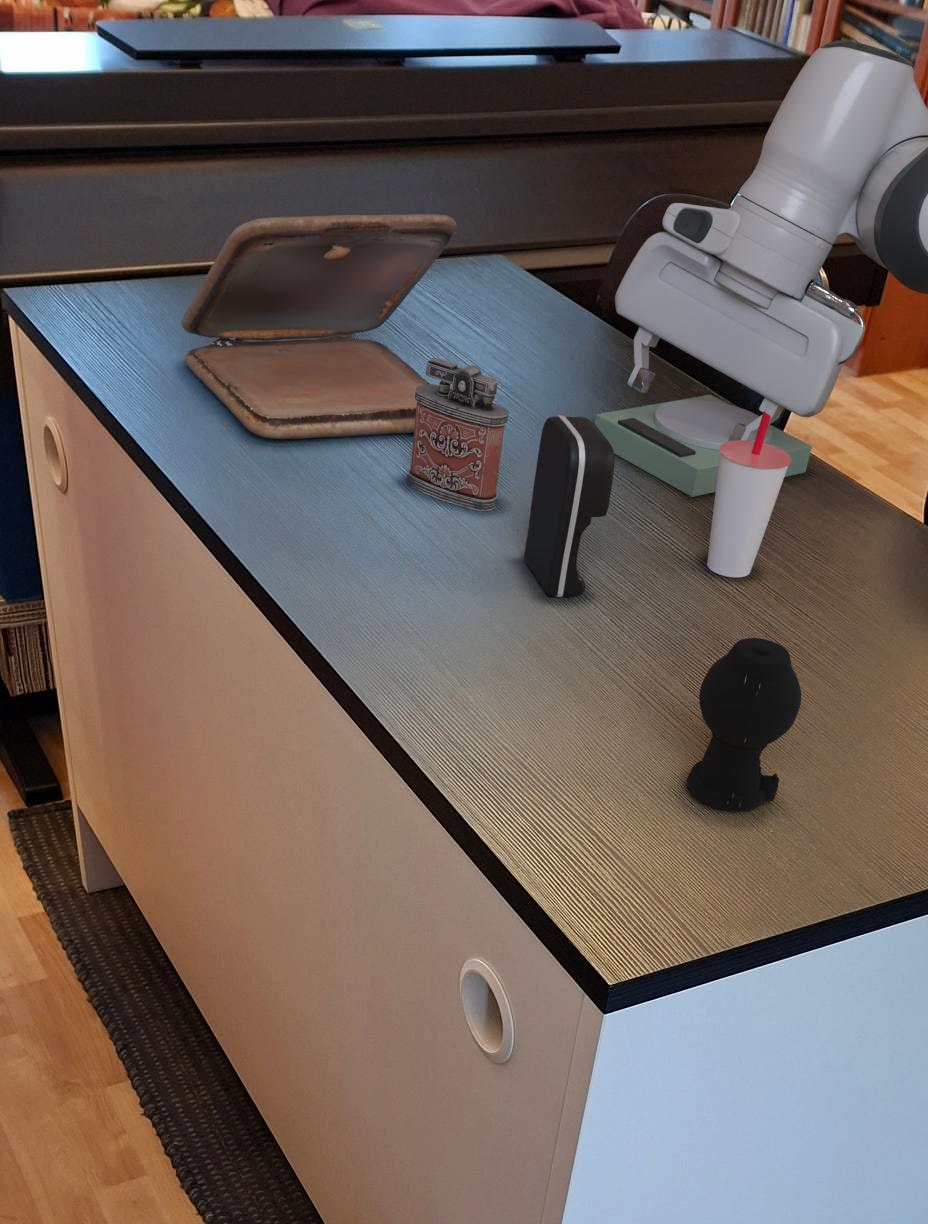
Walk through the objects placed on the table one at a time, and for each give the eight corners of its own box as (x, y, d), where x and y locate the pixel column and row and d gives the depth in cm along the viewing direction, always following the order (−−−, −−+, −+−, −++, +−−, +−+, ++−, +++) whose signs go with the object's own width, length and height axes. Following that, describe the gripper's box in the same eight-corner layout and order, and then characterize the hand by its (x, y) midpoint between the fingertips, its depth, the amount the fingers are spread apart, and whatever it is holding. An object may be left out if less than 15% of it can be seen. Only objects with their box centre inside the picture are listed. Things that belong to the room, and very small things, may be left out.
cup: (752, 554, 126) (790, 401, 118) (770, 585, 122) (811, 428, 114) (687, 551, 125) (720, 396, 117) (703, 581, 121) (739, 423, 113)
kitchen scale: (704, 420, 148) (711, 387, 146) (805, 472, 140) (814, 438, 138) (591, 441, 140) (597, 407, 139) (691, 497, 133) (699, 462, 131)
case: (379, 351, 152) (393, 165, 142) (475, 433, 139) (499, 235, 128) (173, 360, 145) (172, 164, 134) (254, 449, 131) (260, 238, 120)
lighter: (504, 503, 128) (521, 376, 122) (482, 515, 126) (499, 386, 119) (421, 473, 131) (433, 347, 124) (398, 484, 129) (409, 357, 122)
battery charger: (597, 600, 116) (626, 445, 109) (548, 601, 115) (573, 445, 108) (568, 558, 121) (593, 407, 114) (521, 559, 120) (543, 406, 113)
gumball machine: (772, 835, 95) (815, 684, 88) (673, 816, 95) (709, 665, 89) (773, 777, 100) (814, 631, 93) (680, 760, 100) (714, 614, 94)
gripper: (883, 317, 131) (796, 476, 138) (677, 206, 135) (602, 365, 142) (867, 311, 126) (777, 476, 132) (653, 195, 130) (577, 361, 137)
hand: (685, 417), depth 137 cm, fingers open, 8 cm apart
